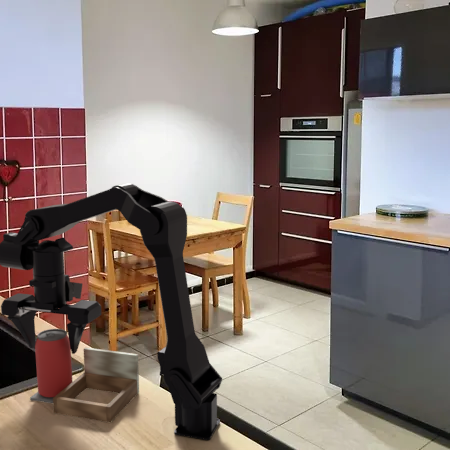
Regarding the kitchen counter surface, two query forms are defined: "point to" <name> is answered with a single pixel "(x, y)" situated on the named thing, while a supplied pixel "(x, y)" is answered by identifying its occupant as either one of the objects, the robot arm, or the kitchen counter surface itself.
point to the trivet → (41, 398)
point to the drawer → (101, 385)
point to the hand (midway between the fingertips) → (53, 350)
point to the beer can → (53, 362)
